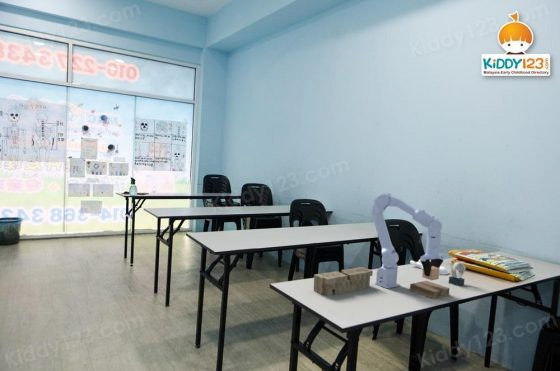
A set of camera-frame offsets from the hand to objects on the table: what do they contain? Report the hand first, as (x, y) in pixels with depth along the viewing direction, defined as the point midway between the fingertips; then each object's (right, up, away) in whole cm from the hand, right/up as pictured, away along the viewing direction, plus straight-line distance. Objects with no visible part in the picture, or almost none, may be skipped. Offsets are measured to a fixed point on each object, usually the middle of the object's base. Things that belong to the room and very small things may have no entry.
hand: (430, 274), depth 175 cm
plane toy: (+15, -7, +40) cm, 44 cm away
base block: (-1, -8, +1) cm, 8 cm away
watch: (+19, -9, +16) cm, 26 cm away
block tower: (-40, -7, -1) cm, 41 cm away
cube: (0, -2, 0) cm, 2 cm away
